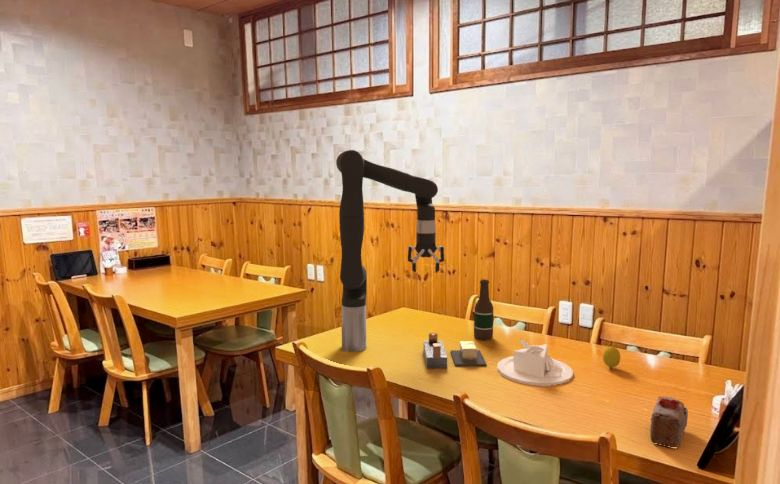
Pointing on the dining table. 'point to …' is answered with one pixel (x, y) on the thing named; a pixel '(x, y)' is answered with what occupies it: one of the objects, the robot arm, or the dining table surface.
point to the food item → (668, 421)
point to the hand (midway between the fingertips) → (425, 272)
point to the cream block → (468, 351)
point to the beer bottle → (483, 314)
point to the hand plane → (435, 353)
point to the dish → (534, 367)
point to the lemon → (611, 357)
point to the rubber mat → (459, 362)
